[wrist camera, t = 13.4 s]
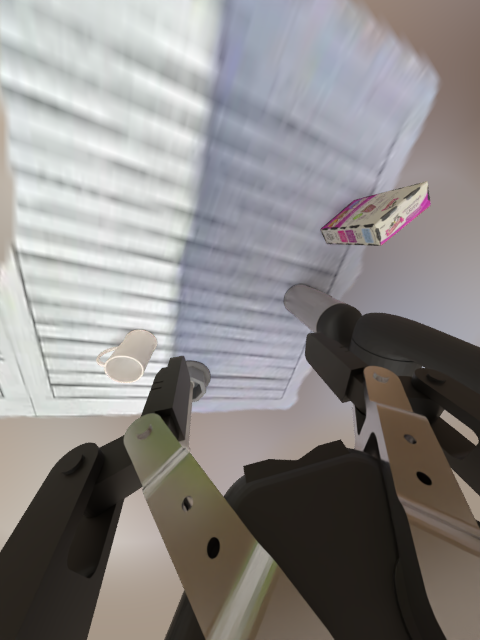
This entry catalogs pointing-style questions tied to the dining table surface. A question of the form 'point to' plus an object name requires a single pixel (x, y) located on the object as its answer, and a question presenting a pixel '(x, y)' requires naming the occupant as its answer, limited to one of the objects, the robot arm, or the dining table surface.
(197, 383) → the valve socket
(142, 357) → the mug
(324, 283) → the dining table surface
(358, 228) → the candy bar box
